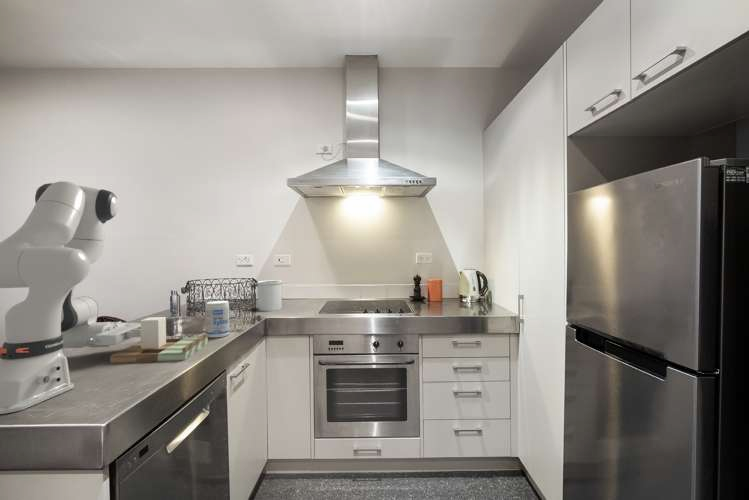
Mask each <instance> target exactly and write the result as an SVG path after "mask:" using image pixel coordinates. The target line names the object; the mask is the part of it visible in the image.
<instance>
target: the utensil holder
mask: <svg viewBox="0 0 749 500" xmlns="http://www.w3.org/2000/svg"><path fill="white" fill-rule="evenodd" d="M282 283H283V281H282V280H280V279H271V280H270V279H269V280H259V281H257V282H256V286H257V305H258V306H257V307H258V311H259V312H275V311H279V310H282V308H283V307H282V304H283V303H282V302H283V300H282V298H283V297H282V296H283V295H282V292H283V291H282Z"/></svg>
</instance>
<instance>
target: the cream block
mask: <svg viewBox="0 0 749 500" xmlns="http://www.w3.org/2000/svg"><path fill="white" fill-rule="evenodd" d="M166 319H167V318H166V316H160V317H159V316H157V317H156V316H155V317H154V316H152V317H145V318H144V319H141V320H140V322H139V323H141V336H140V341H141V349H143V348H159V347H161V346H163V345H165V344H166V339H167V320H166Z"/></svg>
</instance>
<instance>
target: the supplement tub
mask: <svg viewBox="0 0 749 500" xmlns="http://www.w3.org/2000/svg"><path fill="white" fill-rule="evenodd" d="M204 312H205V333H207V335H208V339H209V338H211V339H213V338H214V339H216V338H225V337H226V336H229V335H230V302H229V301H227V300H213V301H206V302H205V311H204Z"/></svg>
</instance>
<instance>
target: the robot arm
mask: <svg viewBox="0 0 749 500" xmlns="http://www.w3.org/2000/svg"><path fill="white" fill-rule="evenodd" d="M34 200H35V204H34V206H33V208H32V210H31V212H30V213H29V215H28V216H27V218H26V220H25V221H24V223H23V224H22V225H21V227H20V228H18V229H17V230H16V231H15V232H13V234H11V235H9V236H8V237H7V238H5V239H4V240H2V241H0V289H15V288H16V289H18V288H19V289H20V288H28V294H27V296H26V298H25V299H24V300H22V301H21V302H19V303H16V304H14V305H13V306H11V307H10V308H9V309H8V310H7V311H6V313H5V315H4V327H5V328H4V329H5V330H4V333H5V335H4V336H5V341H4V342H3V344H2V347H0V415H3V414H8V413H15V412H20V411H22V410H25V409H28V408H29V407H33V406H34V405H37V404H40V403H43V401H46V400H49V399H51V398H53V397H56V396H58V395H60V394H63V393H65V392H67V391H70V390H73V389H74V388H75V384H74V383H73V382H72V381H71V379H70V370H69V364H68V363H69V362H68V358H67V357H66V356H65V354H64V352H63V349H82V348H87V347H88V348H108V347H110V346H115V345H118V344H121V343H122V342H125V341H127V340H130V339H131V338H137V337H141V322H122V321H121V320H120V321H119V320H118V321H103V322H98V316H99V306H98V303H97V302H96V300H95V299H93V298H92V297H89V296H78V297H75V298H74V294H75V288H76V287H77V286H78V285H79V284H80V283H81V282H83V281H84V280H85V279H86V278H87V277H88V274H89V272H90V269H91V265H92V264H93V263H95V262H96V261H98V260H99V259H100V258H101V256H102V253H103V250H104V242H105V224H106V222H108V221H110V220H112V219H113V218H114V217H115V216H116V214H117V211H118V209H119V202H118V198H117V196H116V194H115V193H114V192H112V191H110V190H107V189H98V188H94V187H88V186H82V185H78V184H76V183H73V182H69V181H63V180H62V181H61V180H60V181H57V182H56V181H55V182H53V183H51V182H50V183H49V182H48V183H44V184H42V185H40V186H39V187H38V188H37V189H36V191H35V195H34Z"/></svg>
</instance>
